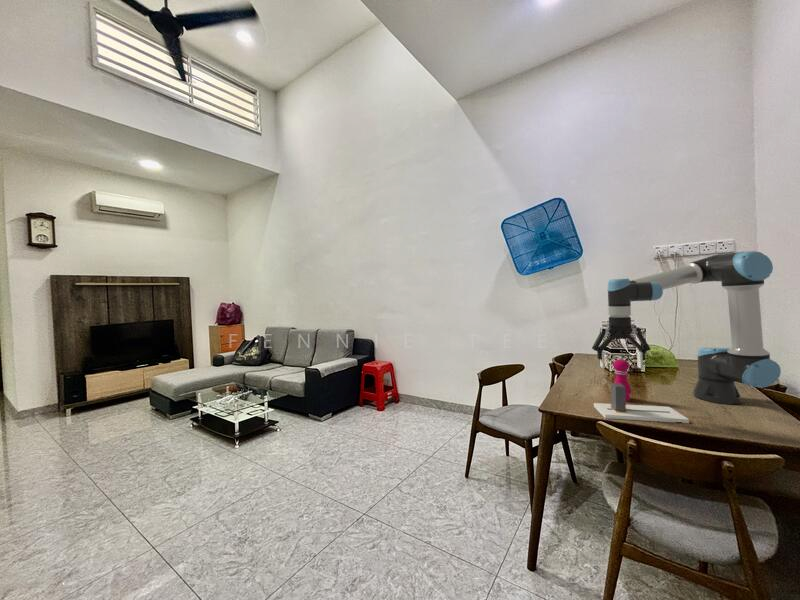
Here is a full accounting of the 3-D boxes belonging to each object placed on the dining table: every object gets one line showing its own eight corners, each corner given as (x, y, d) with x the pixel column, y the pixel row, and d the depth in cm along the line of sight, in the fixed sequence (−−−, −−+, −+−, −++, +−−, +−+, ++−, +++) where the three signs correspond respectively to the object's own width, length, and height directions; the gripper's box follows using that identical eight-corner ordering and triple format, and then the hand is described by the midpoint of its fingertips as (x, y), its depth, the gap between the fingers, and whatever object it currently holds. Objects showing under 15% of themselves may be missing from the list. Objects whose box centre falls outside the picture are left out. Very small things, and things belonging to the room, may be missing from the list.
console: (669, 410, 131) (669, 406, 131) (689, 423, 118) (689, 419, 118) (593, 406, 138) (593, 402, 138) (605, 418, 125) (605, 414, 125)
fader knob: (620, 406, 132) (620, 383, 131) (625, 411, 127) (625, 387, 127) (611, 406, 133) (610, 383, 132) (616, 410, 128) (615, 386, 127)
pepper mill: (634, 402, 141) (633, 358, 140) (616, 401, 142) (615, 358, 142) (626, 396, 148) (625, 354, 147) (609, 396, 149) (608, 354, 149)
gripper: (650, 314, 129) (651, 365, 130) (582, 316, 135) (584, 364, 136) (660, 316, 122) (661, 370, 123) (588, 317, 128) (590, 369, 129)
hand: (621, 367), depth 129 cm, fingers open, 13 cm apart
